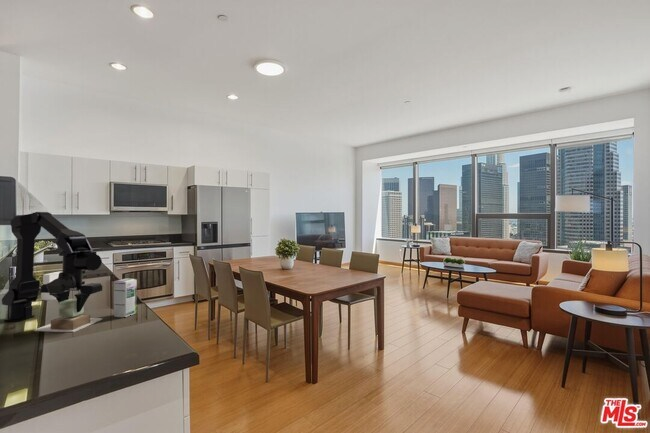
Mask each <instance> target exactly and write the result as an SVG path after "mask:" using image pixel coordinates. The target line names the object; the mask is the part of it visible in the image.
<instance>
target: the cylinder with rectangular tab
mask: <svg viewBox="0 0 650 433" xmlns="http://www.w3.org/2000/svg"><path fill="white" fill-rule="evenodd" d="M60 272H61V270H60V271H55V272H50V273H44V274H43V275H42V278H43V279H42V285H43V284H47V283H50V282H51V281H53V280H55V279H57V278H58V277H59V273H60ZM40 300H42V301H55V300H57V299H56V297H54V296H52V295H50V293H41V292H40Z"/></svg>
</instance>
